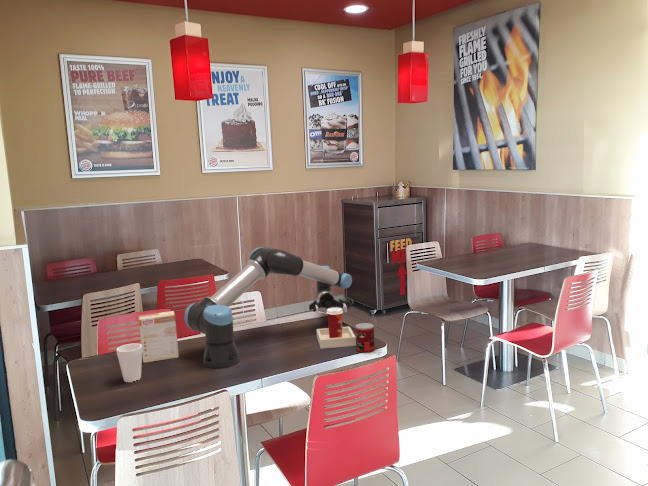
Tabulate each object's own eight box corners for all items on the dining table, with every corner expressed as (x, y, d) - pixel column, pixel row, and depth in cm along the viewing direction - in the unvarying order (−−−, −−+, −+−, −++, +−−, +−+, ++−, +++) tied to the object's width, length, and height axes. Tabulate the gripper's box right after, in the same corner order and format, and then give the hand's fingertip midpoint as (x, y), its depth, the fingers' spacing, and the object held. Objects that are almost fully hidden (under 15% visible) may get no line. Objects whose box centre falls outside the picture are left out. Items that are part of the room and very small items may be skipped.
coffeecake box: (177, 352, 237) (174, 310, 234) (179, 357, 230) (175, 314, 227) (142, 357, 232) (138, 314, 229) (143, 363, 225) (138, 319, 222)
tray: (320, 348, 234) (320, 340, 233) (316, 337, 250) (316, 329, 249) (356, 345, 236) (355, 337, 235) (350, 334, 252) (349, 326, 251)
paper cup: (344, 341, 239) (343, 311, 237) (327, 341, 239) (326, 312, 237) (343, 335, 246) (342, 306, 244) (327, 336, 247) (326, 307, 245)
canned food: (353, 348, 233) (352, 324, 231) (370, 345, 235) (369, 322, 234) (359, 354, 226) (359, 329, 224) (377, 351, 228) (376, 326, 226)
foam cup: (136, 372, 215) (133, 341, 213) (149, 377, 209) (146, 346, 207) (115, 380, 208) (111, 348, 206) (127, 385, 202) (124, 353, 200)
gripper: (350, 305, 274) (357, 316, 253) (302, 308, 271) (306, 319, 250) (350, 291, 272) (357, 301, 252) (301, 294, 270) (305, 304, 249)
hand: (331, 310), depth 251 cm, fingers open, 13 cm apart
